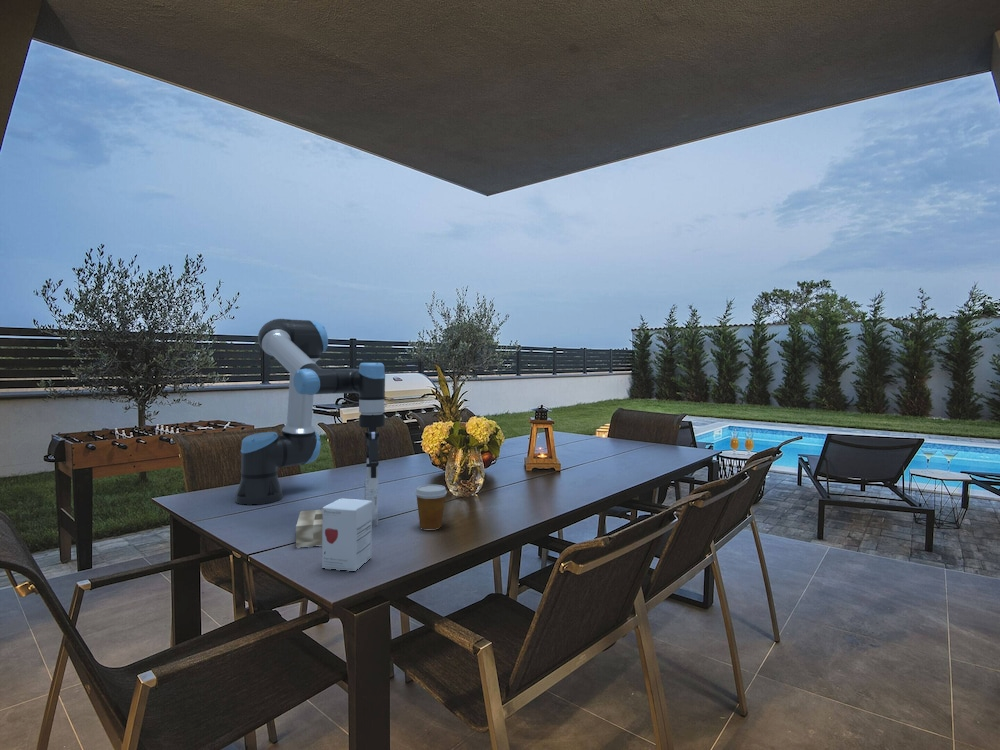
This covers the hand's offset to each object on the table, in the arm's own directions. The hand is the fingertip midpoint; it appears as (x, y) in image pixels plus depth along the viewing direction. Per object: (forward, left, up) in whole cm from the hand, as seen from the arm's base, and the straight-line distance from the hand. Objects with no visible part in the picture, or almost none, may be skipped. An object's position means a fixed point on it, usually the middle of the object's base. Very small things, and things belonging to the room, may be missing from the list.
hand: (372, 483), depth 154 cm
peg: (0, 0, -13) cm, 13 cm away
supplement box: (-7, -29, -13) cm, 32 cm away
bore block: (-13, -8, -13) cm, 20 cm away
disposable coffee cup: (+17, -7, -13) cm, 22 cm away
